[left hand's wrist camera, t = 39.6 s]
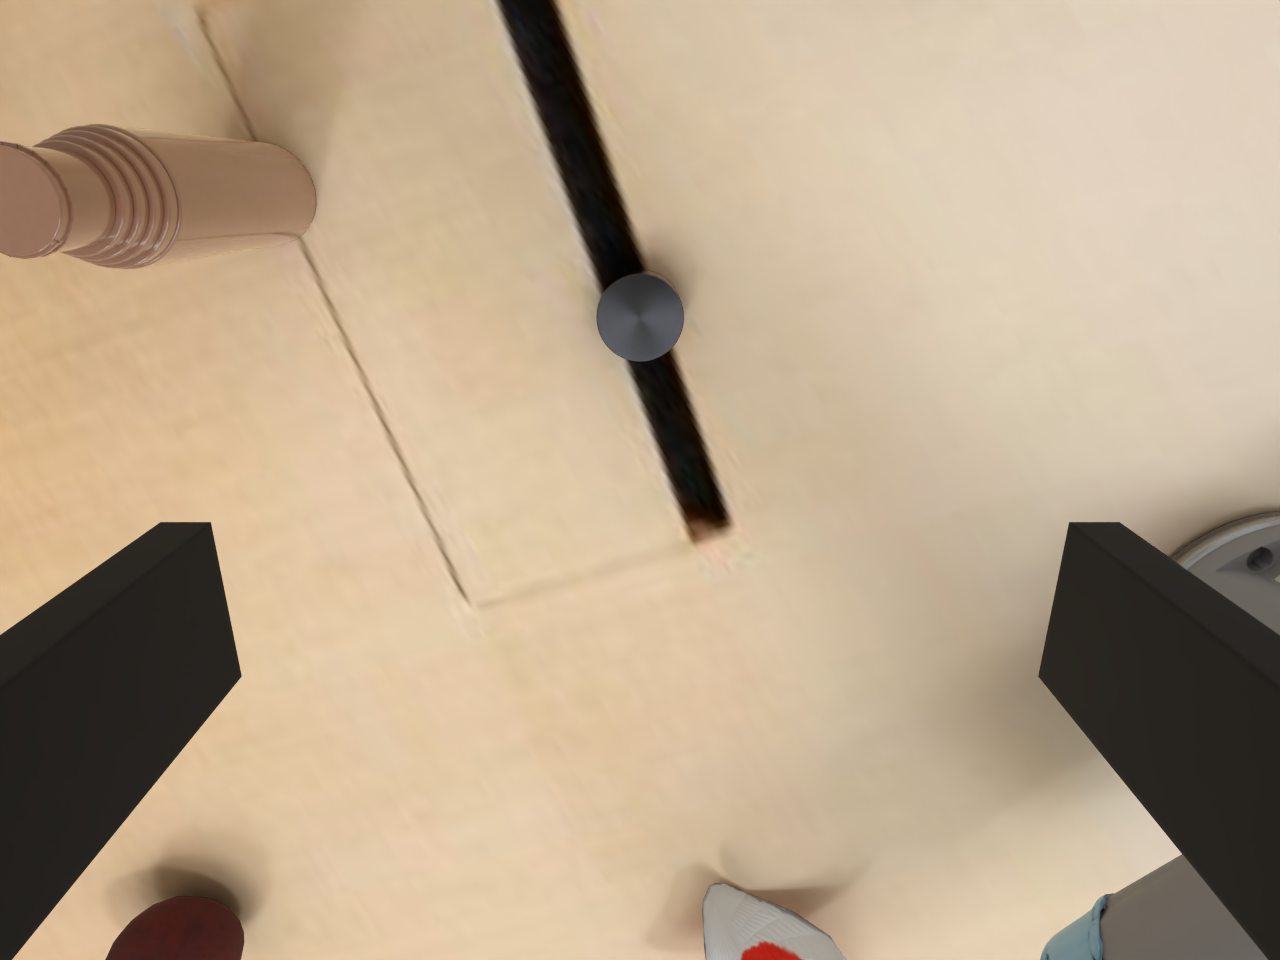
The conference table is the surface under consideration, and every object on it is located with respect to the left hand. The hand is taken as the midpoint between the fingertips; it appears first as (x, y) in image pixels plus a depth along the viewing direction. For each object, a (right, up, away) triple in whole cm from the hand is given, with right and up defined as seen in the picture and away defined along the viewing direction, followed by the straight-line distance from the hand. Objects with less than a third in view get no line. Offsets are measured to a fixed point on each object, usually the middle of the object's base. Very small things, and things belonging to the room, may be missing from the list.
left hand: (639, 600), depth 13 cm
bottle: (-18, +16, +26) cm, 35 cm away
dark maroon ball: (-29, -27, +42) cm, 58 cm away
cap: (0, +10, +26) cm, 28 cm away
